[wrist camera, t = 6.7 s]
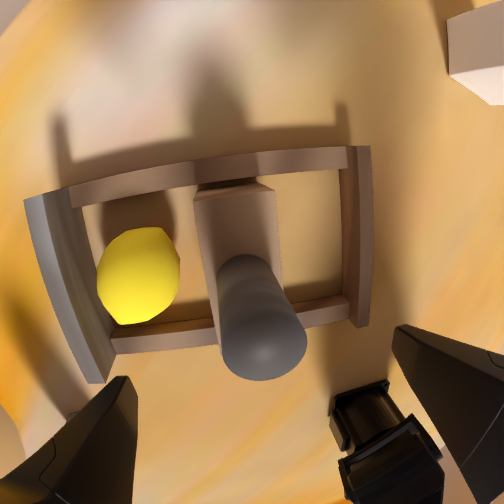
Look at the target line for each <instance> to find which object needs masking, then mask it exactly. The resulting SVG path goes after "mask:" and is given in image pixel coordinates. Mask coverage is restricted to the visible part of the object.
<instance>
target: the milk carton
mask: <svg viewBox="0 0 504 504" xmlns="http://www.w3.org/2000/svg"><path fill="white" fill-rule="evenodd" d="M447 31H448V49H449V76H450V77H451V78H453V79H454V80H456V81H457V82H459V83H460V84H462V85H463V86H465V87H466V88H468V89H469V90H470V91H472V92H473V93H475V94H476V95H477V96H479V97H480V98H481V99H483V100H484V101H485V102H487V103H488V104H489V105H504V0H501V1H498V2H495V3H491V4H488V5H485V6H482V7H479V8H476V9H473V10H470V11H468V12H465V13H462V14H459V15H457V16H454V17H452V18H449V19H447Z"/></svg>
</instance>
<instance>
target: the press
mask: <svg viewBox="0 0 504 504" xmlns="http://www.w3.org/2000/svg"><path fill="white" fill-rule="evenodd" d="M330 169H339V178H340V195H341V217H342V294H341V295H336V296H331V297H326V298H321V299H316V300H311V301H306V302H301V303H295V304H291V306H292V308H293V310H294V311H295V313H296V315H297V317H298V319H299V321H300V322H301V324H302V326H303V328H304V329H306V328H311V327H315V326H320V325H325V324H329V323H333V322H338V321H342V320H346V319H349V320H350V321H351V322H352V323H353V324H354V326H355V327H356V328H361V327H364V326H368V323H369V312H370V300H371V285H372V264H373V188H372V167H371V152H370V146H341V147H317V148H300V149H286V150H274V151H263V152H253V153H244V154H236V155H227V156H220V157H212V158H205V159H199V160H192V161H186V162H180V163H174V164H168V165H163V166H157V167H152V168H147V169H142V170H137V171H132V172H127V173H123V174H118V175H114V176H110V177H105V178H101V179H97V180H93V181H89V182H85V183H81V184H77V185H74V186H70V187H66V188H62V189H59V190H55V191H51V192H47V193H44V194H41V195H37V196H34V197H31V198H28V199H25V200H24V206H25V211H26V216H27V221H28V225H29V229H30V234H31V238H32V242H33V246H34V249H35V253H36V257H37V260H38V264H39V267H40V270H41V273H42V277H43V280H44V283H45V286H46V289H47V292H48V295H49V297H50V300H51V303H52V306H53V308H54V311H55V313H56V316H57V318H58V321H59V323H60V326H61V328H62V331H63V333H64V335H65V338H66V340H67V342H68V344H69V346H70V349H71V351H72V353H73V355H74V357H75V359H76V361H77V363H78V365H79V367H80V369H81V371H82V373H83V375H84V377H85V379H86V381H87V383H88V384H101V383H106V381H107V378H108V375H109V373H110V370H111V367H112V365H113V362H114V360H115V357H116V354H131V353H143V352H154V351H165V350H174V349H183V348H191V347H199V346H207V345H214V344H219V343H218V339H217V334H216V329H215V324H214V319H213V317H210V318H203V319H196V320H188V321H181V322H173V323H165V324H156V325H147V326H138V327H128V328H118V329H115V327H114V325H113V322H112V319H111V316H110V313H109V312H108V311H107V309H106V308H105V307H104V306H103V303H102V301H101V300H100V298H99V296H98V293H97V272H96V268H95V264H94V261H93V257H92V253H91V249H90V245H89V241H88V237H87V233H86V228H85V224H84V219H83V214H82V209H81V207H82V206H87V205H91V204H95V203H100V202H104V201H109V200H114V199H119V198H123V197H128V196H133V195H138V194H144V193H149V192H154V191H160V190H166V189H171V188H177V187H183V186H190V185H196V184H202V183H209V182H216V181H223V180H231V179H239V178H247V177H255V176H264V175H273V174H283V173H293V172H304V171H317V170H330Z"/></svg>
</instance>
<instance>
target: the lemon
mask: <svg viewBox="0 0 504 504" xmlns="http://www.w3.org/2000/svg"><path fill="white" fill-rule="evenodd" d="M179 278H180V258H179V256H178V253H177V251H176V249H175V247H174V245H173V243H172V241H171V240H170V239H169V237H168V236H167V234H166V233H165V232H164V230H163V229H162V228H158V227H145V228H138V229H133V230H128V231H125V232H124V233H122V234H121V235H120V236H118V237H117V238H115V239H114V240H112V241H111V243H110V244H109V245H108V246H107V248H106V249H105V250H104V252H103V255H102V257H101V259H100V262H99V264H98V266H97V293H98V296H99V298H100V300H101V301H102V303H103V306H104V307H105V308H106V309H107V311H108V312H109V313H110V314H111V316H112V317H113V318H114V319H115V320H116V321H117V323H118V324H121V325H123V324H134V323H139V322H144V321H148V320H150V319H151V318H153V317H154V316H156V315H157V314H159V313H161V312H162V311H163V310H165V309H166V308H167V307H168V306H169V305H170V304H171V302H172V301H173V299H174V297H175V295H176V293H177V291H178V289H179Z"/></svg>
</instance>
